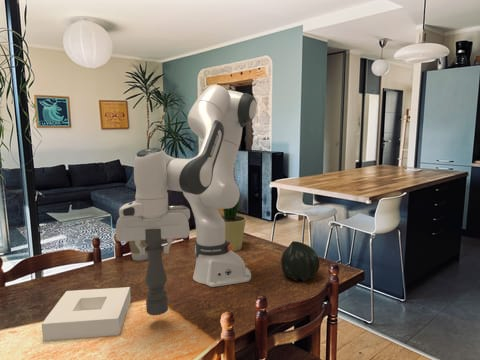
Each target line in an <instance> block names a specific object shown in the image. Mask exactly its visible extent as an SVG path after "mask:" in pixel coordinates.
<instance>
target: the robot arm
mask: <svg viewBox="0 0 480 360" xmlns="http://www.w3.org/2000/svg"><path fill="white" fill-rule="evenodd" d="M257 105H258V103H257V99H256V98H255V96H253V95H252V94H249V93H246V92H244V93H243V92H240V91H236V90H230V89H229V90H227V88H226V87H224V86H222V85H219V84H211V85H210V86H208V87H206V89H204V90H203V91H202V92H201V93H200V95H199V96H198V98H197V99H196V101H194V104H192V107H191V108H190V110H189V112H188V115H187V123H188V126H189V128H190V129H191V131H192V133H194V134H195V135H196V136H197V137H199V138H200V139H203V141H202V144H201V145H200V148H199V152H198V154H197V155H196V156H195V157H191V158H179V157H173V156H170V155H169V154H167V153H165V151H164V150H163V148H160V147H149V148H145V149H141V150H139V151H138V152H136V154H135V157H134V162H133V180H134V185H135V187H136V190H135V191H136V192H135V195H134V196H135V197H134V198H135V200H133V201H131V202H130V201H129V202H127V203H125V204H123V205H121V207H119V209H118V214H119V218H118V219H117V221H116V224H115V238H116V240H117V241H118V242H129V241H135V245H136V246H137V247H138V249H139V250H140V255H146V251H145V248H146V247H142V245H141V244H140V243H141V240H145V239H146V235H145V230H149V229H161V239H163V240H167V245H163V247H164V250H163V254H169V253H170V247H171V245H172V243H173V239H187V238H188V237H189V235H190V234H191V233H190V226H189V225H190V224H189V220H190V218H191V211H192V214H193V217H194V223H195V230H196V231H195V236H196V241H195V245H194V249H195V251H194V254H195V257H196V259H195V265H194V266H195V267H194V272H193V275H192V279H193V280H194V281H195V282H196V283H199V284H202V285H207V286H209V287H212V288H214V287H221V286H222V287H223V286H228V285H233V284H234V285H235V284H241V283H248V282H250V281H251V279H252V274H251V270H250V269H249V268H248V267H247V266H246V265H245V261H244V259H243V258H242V257H241V256H240V255H239V254H237V253H236V252H235V251H232V249H233V246H232V245H231V244H230V242H229V241H228V240H227V241H226V240H225V221H224V219H223V218H222V217H221V215H222V214H220V212H219V210H223V209H228V208H232V207H234V206H235V205H236V204H237V202H238V200H239V201H240V196H241V195H240V194H241V193H240V188H239V187H238V185H237V183H236V181H235V176H234V173H235V172H234V169H235V164H236V160H237V157H238V156H237V155H238V152H239V148H240V145H241V141H242V136H243V135H242V134H243V128H245V127H246V126H247V124H250V122H252V120H253V119H255V117H256V113H257V107H258V106H257ZM168 191H173V192H174V191H176V192H182V194H183V196H184V197H185V199H186V200H187V202H188V203H189V205H190V207H191V210H190V208H189V207H187V206H185V205H182V204H181V205H169V194H168Z"/></svg>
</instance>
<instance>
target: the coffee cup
mask: <svg viewBox="0 0 480 360" xmlns="http://www.w3.org/2000/svg"><path fill="white" fill-rule="evenodd" d="M128 244H129V249H130V255H131V258H132V260H133V261H135V262H143V261H146V260H148V253H147V252H146V255H140V250H139V249H138V247H137V246H136V245H135V241H128ZM140 244H141V245H142V247H147V244H146V243H145V240H141V243H140Z"/></svg>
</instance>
